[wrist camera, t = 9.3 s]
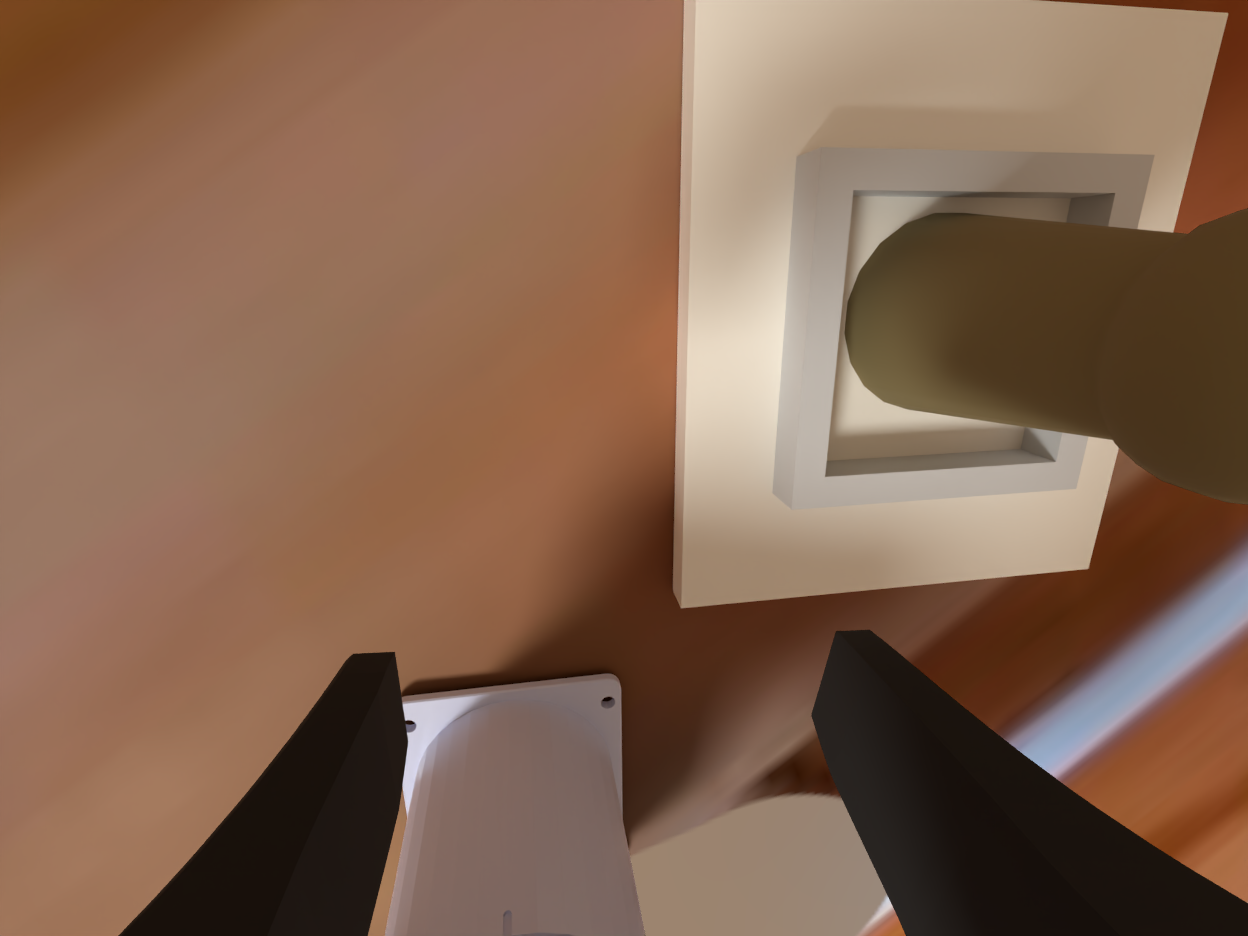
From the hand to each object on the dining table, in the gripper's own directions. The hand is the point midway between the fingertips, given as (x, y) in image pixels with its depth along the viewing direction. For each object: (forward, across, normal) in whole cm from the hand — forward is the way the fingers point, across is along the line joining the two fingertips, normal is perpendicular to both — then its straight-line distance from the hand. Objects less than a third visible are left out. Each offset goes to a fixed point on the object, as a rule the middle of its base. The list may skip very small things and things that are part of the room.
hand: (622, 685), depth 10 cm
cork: (+11, -11, -4) cm, 16 cm away
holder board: (+12, -11, -3) cm, 16 cm away
